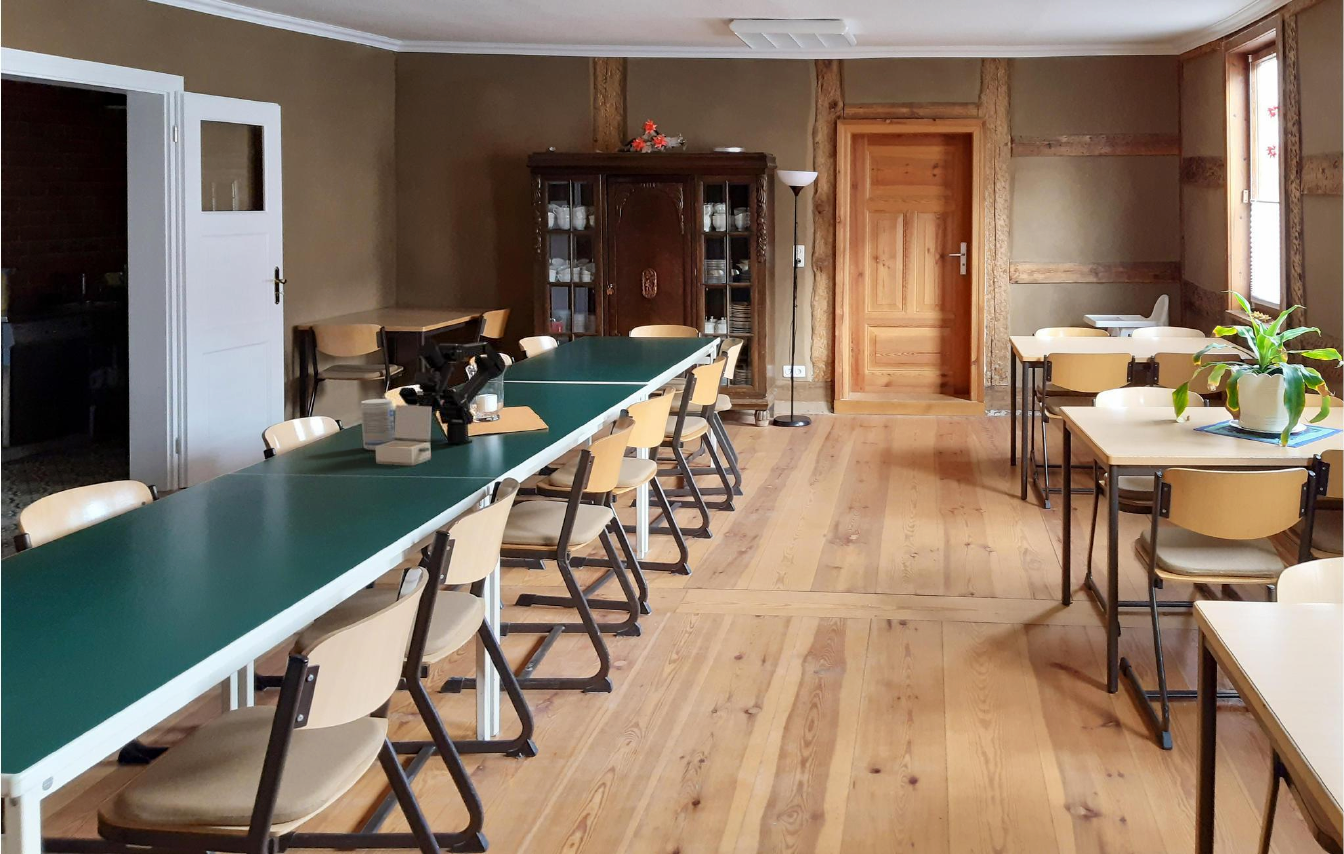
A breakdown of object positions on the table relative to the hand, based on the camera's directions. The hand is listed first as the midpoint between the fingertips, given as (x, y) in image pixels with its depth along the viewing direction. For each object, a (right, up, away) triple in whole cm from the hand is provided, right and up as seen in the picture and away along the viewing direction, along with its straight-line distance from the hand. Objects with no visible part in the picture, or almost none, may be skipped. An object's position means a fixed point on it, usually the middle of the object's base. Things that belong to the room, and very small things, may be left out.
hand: (420, 419), depth 369 cm
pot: (-3, -12, -8) cm, 15 cm away
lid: (-2, -1, -4) cm, 5 cm away
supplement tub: (-16, -9, +15) cm, 23 cm away
